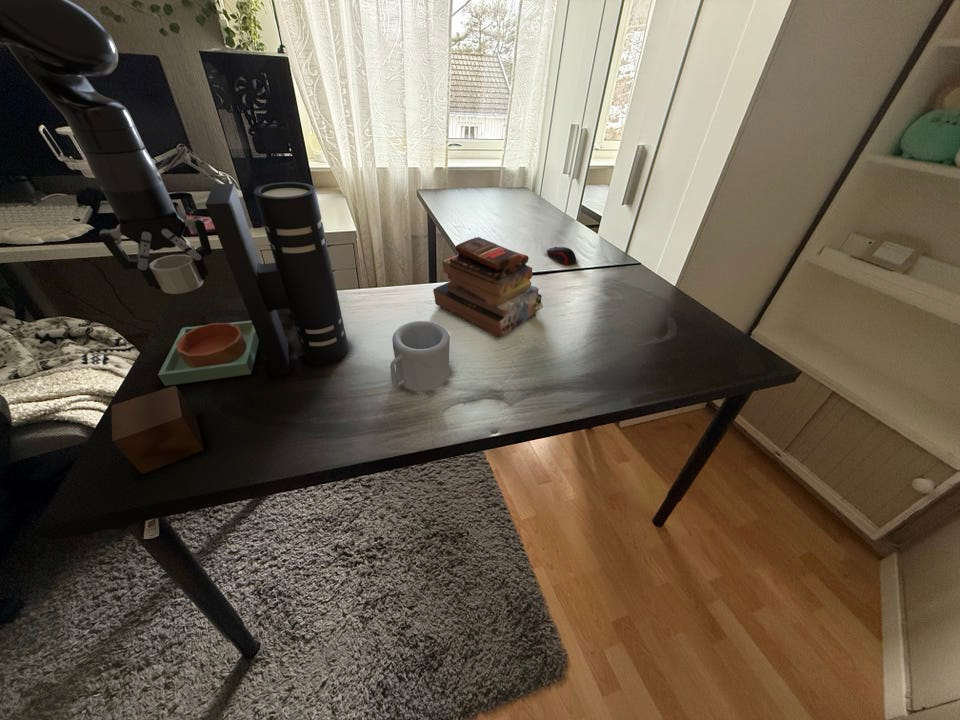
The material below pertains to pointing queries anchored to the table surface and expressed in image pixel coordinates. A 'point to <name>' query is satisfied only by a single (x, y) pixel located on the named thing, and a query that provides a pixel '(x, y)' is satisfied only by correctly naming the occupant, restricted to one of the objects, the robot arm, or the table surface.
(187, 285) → the small bowl
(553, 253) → the computer mouse
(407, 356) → the mug
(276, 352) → the light fixture
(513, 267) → the stack of old books
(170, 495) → the table surface
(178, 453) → the block
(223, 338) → the big bowl
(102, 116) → the robot arm
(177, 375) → the tray
